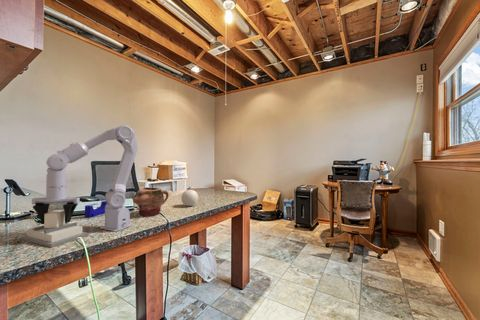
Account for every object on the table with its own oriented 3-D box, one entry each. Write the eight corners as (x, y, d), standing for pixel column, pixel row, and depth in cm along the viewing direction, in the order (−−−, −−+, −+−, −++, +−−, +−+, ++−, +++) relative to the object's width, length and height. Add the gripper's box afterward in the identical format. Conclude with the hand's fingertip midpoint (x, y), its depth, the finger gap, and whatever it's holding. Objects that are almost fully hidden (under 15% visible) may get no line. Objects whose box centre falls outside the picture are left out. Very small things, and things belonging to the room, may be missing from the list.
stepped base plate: (88, 235, 82) (88, 223, 82) (51, 247, 71) (51, 234, 71) (59, 229, 88) (59, 218, 88) (21, 238, 77) (21, 226, 77)
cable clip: (100, 211, 118) (101, 200, 118) (108, 212, 117) (108, 201, 117) (82, 217, 106) (82, 205, 106) (90, 218, 105) (90, 206, 105)
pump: (69, 221, 85) (69, 208, 84) (57, 227, 77) (57, 213, 77) (57, 221, 84) (58, 209, 84) (44, 227, 76) (44, 214, 76)
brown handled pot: (159, 208, 127) (160, 185, 127) (174, 211, 121) (174, 187, 121) (127, 216, 110) (128, 189, 110) (142, 220, 104) (143, 191, 104)
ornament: (185, 203, 142) (186, 185, 142) (200, 204, 140) (200, 186, 140) (178, 207, 132) (178, 187, 132) (194, 208, 130) (194, 188, 130)
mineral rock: (68, 211, 117) (68, 192, 117) (75, 214, 111) (75, 195, 111) (36, 215, 107) (36, 195, 107) (41, 220, 100) (42, 198, 100)
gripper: (84, 185, 85) (83, 219, 85) (41, 185, 82) (41, 220, 82) (73, 187, 78) (73, 224, 78) (27, 187, 75) (26, 226, 75)
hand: (56, 222), depth 80 cm, fingers open, 7 cm apart
